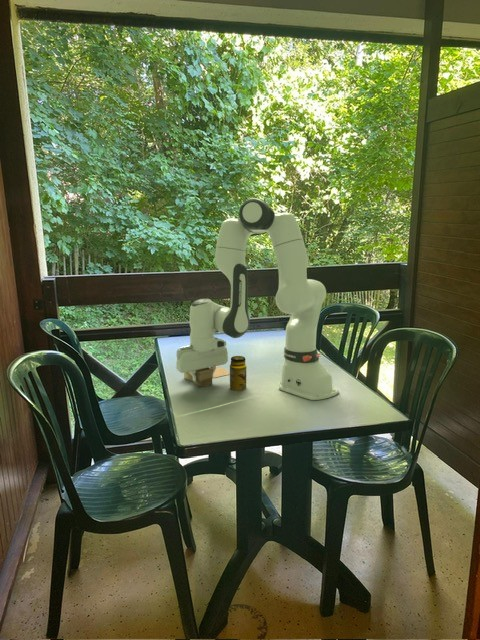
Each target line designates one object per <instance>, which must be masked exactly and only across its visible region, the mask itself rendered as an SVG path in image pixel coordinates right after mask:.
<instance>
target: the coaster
mask: <svg viewBox="0 0 480 640" xmlns="http://www.w3.org/2000/svg"><path fill="white" fill-rule="evenodd" d="M209 368H210V367H209ZM210 369H211V368H210ZM225 376H230V370H227V369H225V368H223V367H221V366H220V365H219V366H216V370H215V372H214V373H213V378H212V380H213V379H217V378H221V377H225Z"/></svg>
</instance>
